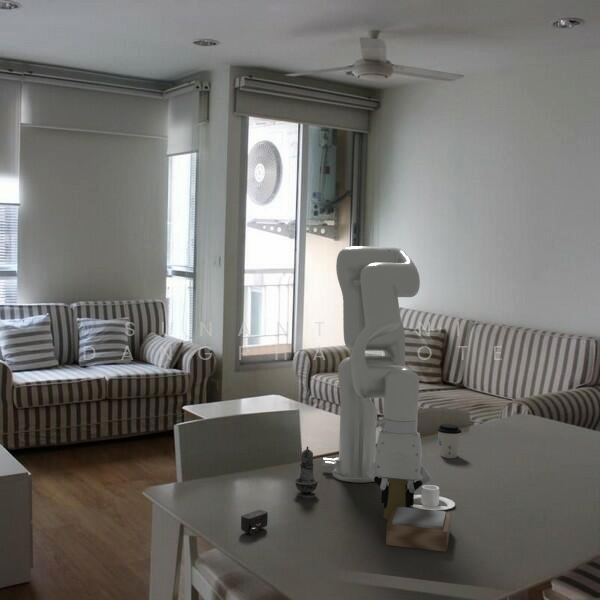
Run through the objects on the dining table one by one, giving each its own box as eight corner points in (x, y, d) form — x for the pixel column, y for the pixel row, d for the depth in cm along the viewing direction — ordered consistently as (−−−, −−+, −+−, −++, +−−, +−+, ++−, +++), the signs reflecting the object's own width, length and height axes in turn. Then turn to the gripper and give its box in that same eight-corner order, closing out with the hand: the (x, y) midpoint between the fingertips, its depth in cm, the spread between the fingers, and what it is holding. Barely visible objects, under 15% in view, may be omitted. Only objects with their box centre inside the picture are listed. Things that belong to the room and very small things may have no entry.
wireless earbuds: (236, 531, 165) (237, 517, 165) (259, 523, 170) (259, 509, 170) (252, 537, 162) (253, 522, 162) (274, 528, 168) (275, 514, 167)
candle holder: (417, 514, 180) (417, 495, 180) (395, 499, 191) (396, 481, 191) (464, 511, 183) (465, 493, 183) (440, 496, 195) (441, 479, 195)
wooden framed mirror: (385, 544, 159) (386, 522, 159) (393, 525, 171) (394, 504, 171) (446, 551, 157) (447, 528, 156) (449, 531, 168) (450, 510, 168)
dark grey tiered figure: (322, 494, 193) (323, 445, 192) (312, 500, 187) (313, 450, 187) (300, 490, 195) (301, 442, 194) (289, 496, 190) (291, 447, 189)
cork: (393, 523, 173) (395, 473, 172) (378, 514, 178) (379, 466, 178) (415, 519, 176) (417, 470, 175) (400, 511, 181) (402, 463, 180)
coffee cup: (464, 459, 230) (465, 425, 230) (455, 464, 224) (456, 429, 224) (441, 455, 234) (442, 422, 234) (432, 460, 228) (433, 426, 228)
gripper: (359, 426, 174) (357, 508, 175) (437, 433, 170) (434, 516, 171) (365, 420, 181) (362, 499, 182) (439, 426, 177) (436, 506, 178)
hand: (397, 506), depth 177 cm, fingers open, 4 cm apart
